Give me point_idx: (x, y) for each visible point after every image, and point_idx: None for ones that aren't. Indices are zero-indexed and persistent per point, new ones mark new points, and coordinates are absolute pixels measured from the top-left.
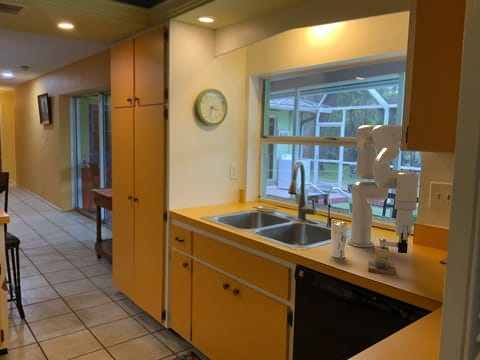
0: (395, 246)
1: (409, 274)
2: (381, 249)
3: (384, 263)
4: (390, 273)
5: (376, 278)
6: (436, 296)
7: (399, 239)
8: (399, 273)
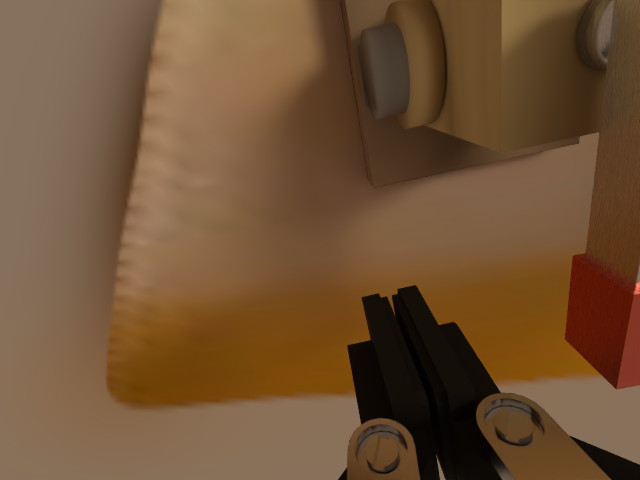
0: (596, 238)
1: (432, 257)
2: (502, 35)
3: (376, 103)
4: (364, 150)
5: (204, 67)
6: (149, 403)
7: (487, 444)
8: (423, 200)
